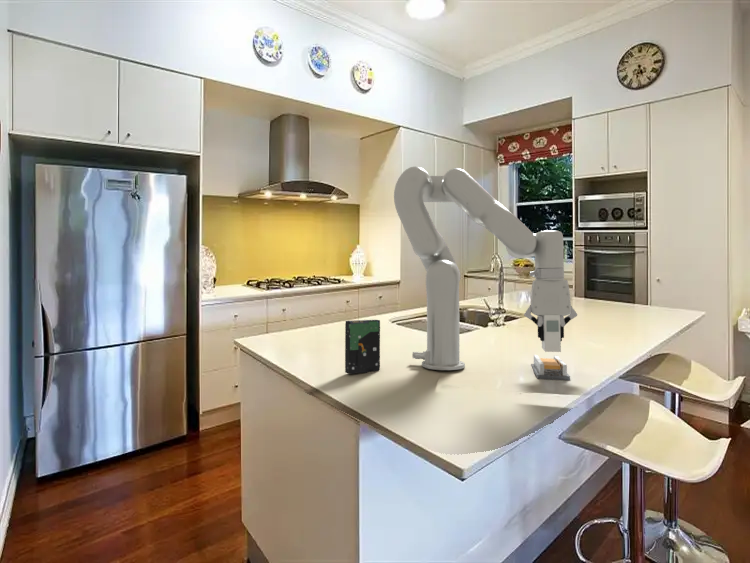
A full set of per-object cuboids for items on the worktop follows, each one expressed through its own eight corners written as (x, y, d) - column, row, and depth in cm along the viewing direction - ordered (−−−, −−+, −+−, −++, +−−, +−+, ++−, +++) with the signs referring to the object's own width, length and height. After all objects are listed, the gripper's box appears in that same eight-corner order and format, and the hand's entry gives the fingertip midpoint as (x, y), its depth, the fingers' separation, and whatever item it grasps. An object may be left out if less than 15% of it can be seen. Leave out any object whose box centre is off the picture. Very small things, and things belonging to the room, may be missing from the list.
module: (545, 351, 121) (544, 315, 121) (541, 347, 128) (541, 313, 128) (561, 352, 120) (560, 315, 120) (556, 348, 127) (555, 313, 127)
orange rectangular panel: (544, 368, 119) (544, 365, 119) (539, 361, 130) (539, 358, 130) (560, 369, 118) (560, 365, 118) (553, 362, 129) (553, 358, 129)
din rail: (537, 378, 117) (537, 364, 117) (531, 367, 133) (531, 354, 133) (570, 380, 115) (570, 365, 115) (559, 368, 131) (559, 355, 131)
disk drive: (375, 369, 130) (375, 318, 130) (380, 370, 128) (380, 319, 128) (344, 373, 125) (344, 320, 125) (348, 374, 122) (348, 321, 122)
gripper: (519, 275, 122) (520, 342, 122) (584, 274, 118) (586, 342, 118) (517, 276, 129) (518, 338, 129) (578, 274, 126) (580, 339, 125)
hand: (550, 339), depth 124 cm, fingers closed on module, 4 cm apart
